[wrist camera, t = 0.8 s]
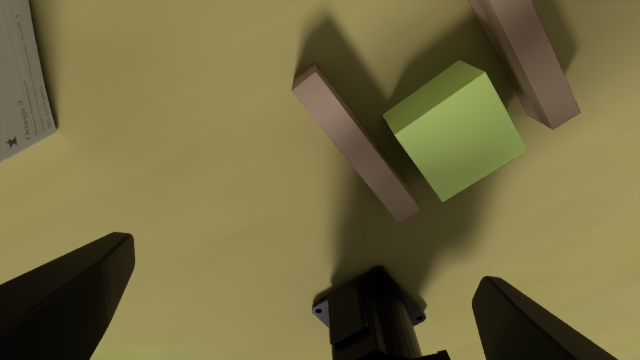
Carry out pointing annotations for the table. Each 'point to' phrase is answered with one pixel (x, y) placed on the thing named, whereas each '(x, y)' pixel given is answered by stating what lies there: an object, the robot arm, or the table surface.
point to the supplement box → (21, 83)
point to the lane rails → (515, 57)
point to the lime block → (455, 129)
